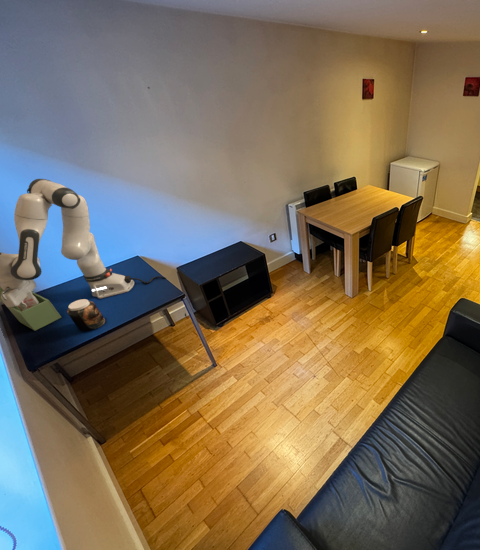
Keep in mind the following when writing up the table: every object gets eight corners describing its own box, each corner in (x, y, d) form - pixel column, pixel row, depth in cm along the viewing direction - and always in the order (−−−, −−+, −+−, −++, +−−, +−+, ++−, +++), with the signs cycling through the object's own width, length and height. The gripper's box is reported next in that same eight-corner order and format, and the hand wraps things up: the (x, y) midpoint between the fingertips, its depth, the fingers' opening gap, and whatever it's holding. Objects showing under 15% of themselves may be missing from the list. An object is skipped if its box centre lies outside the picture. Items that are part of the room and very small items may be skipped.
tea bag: (24, 309, 160) (12, 295, 154) (41, 304, 163) (30, 290, 158) (23, 313, 157) (11, 298, 152) (40, 308, 161) (29, 293, 156)
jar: (75, 334, 157) (59, 313, 149) (83, 320, 166) (68, 300, 158) (102, 328, 161) (88, 307, 153) (108, 315, 170) (95, 295, 162)
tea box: (61, 317, 168) (48, 299, 161) (34, 330, 159) (19, 312, 152) (47, 309, 173) (33, 292, 166) (20, 322, 164) (5, 304, 157)
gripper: (8, 292, 144) (25, 313, 151) (30, 271, 160) (45, 291, 167) (-9, 295, 142) (9, 316, 150) (15, 273, 158) (31, 294, 165)
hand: (28, 303), depth 159 cm, fingers closed on tea bag, 4 cm apart
